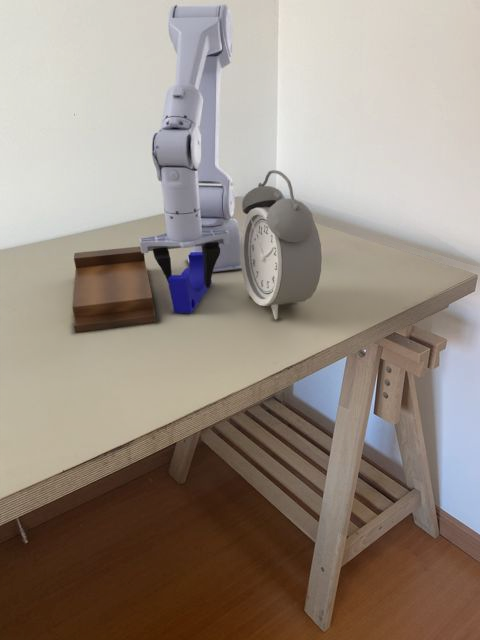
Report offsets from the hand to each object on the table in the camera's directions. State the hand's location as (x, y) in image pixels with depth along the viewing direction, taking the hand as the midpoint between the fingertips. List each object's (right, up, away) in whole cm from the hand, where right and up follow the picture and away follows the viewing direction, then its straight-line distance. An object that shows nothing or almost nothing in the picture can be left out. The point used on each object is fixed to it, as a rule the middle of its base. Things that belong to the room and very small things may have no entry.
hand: (189, 287), depth 96 cm
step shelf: (-13, -2, +2) cm, 14 cm away
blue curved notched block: (0, -2, +1) cm, 2 cm away
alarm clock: (+15, -3, -2) cm, 16 cm away
